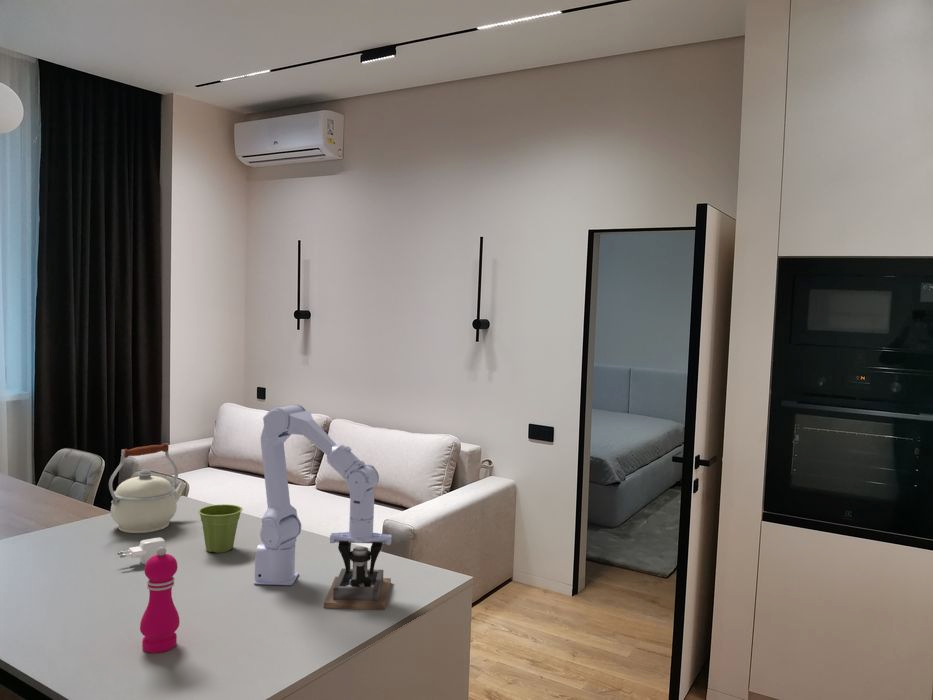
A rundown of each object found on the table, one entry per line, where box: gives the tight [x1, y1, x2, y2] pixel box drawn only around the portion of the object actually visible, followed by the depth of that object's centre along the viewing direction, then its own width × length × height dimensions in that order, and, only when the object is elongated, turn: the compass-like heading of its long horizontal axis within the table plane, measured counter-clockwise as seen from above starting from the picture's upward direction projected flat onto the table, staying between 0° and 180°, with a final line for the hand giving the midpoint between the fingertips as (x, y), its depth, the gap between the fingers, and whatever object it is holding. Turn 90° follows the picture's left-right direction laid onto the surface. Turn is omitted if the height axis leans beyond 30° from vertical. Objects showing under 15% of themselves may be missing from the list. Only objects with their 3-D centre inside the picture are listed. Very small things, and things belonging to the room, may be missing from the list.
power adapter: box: [116, 537, 167, 566], centre depth 180 cm, size 11×5×6 cm, turn 129°
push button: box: [348, 546, 371, 587], centre depth 166 cm, size 7×5×10 cm
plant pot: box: [197, 503, 243, 554], centre depth 194 cm, size 12×12×11 cm
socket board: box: [323, 568, 392, 610], centre depth 166 cm, size 14×16×4 cm
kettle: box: [108, 442, 187, 534], centre depth 212 cm, size 25×18×25 cm
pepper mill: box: [139, 547, 180, 654], centre depth 137 cm, size 7×7×20 cm
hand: (359, 572), depth 166 cm, fingers closed on push button, 5 cm apart
